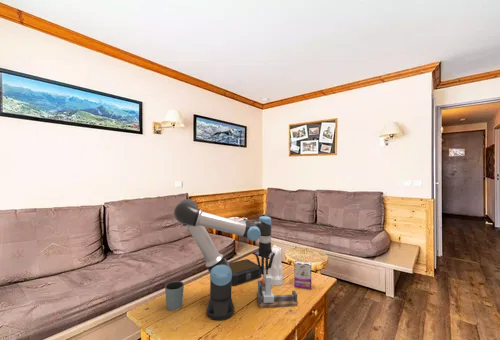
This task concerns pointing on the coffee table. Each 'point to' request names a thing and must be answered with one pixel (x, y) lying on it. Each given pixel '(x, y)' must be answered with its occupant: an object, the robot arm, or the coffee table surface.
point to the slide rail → (279, 300)
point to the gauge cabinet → (261, 287)
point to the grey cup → (174, 295)
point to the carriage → (268, 291)
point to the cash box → (244, 271)
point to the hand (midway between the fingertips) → (264, 279)
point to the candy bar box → (302, 274)
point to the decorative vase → (276, 267)
